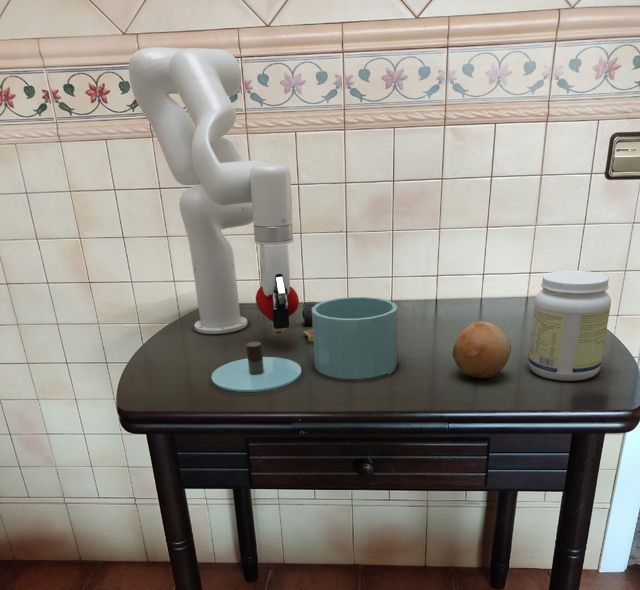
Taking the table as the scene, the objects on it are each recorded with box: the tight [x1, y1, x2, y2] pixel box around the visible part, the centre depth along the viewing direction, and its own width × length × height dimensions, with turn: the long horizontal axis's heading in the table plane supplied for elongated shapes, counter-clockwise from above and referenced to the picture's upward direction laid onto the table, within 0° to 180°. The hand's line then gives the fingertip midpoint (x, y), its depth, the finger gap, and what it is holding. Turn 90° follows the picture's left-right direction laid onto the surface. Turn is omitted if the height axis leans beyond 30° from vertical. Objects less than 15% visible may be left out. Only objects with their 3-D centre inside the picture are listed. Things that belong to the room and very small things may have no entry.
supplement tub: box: [527, 270, 612, 382], centre depth 104 cm, size 12×12×17 cm
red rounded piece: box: [255, 285, 300, 334], centre depth 122 cm, size 9×7×10 cm
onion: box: [452, 320, 512, 379], centre depth 105 cm, size 10×10×10 cm
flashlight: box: [301, 301, 319, 326], centre depth 140 cm, size 15×5×5 cm, turn 94°
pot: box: [312, 296, 398, 380], centre depth 112 cm, size 16×16×12 cm
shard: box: [303, 328, 314, 343], centre depth 128 cm, size 11×8×2 cm
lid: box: [211, 341, 303, 393], centre depth 110 cm, size 17×17×7 cm
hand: (278, 321), depth 123 cm, fingers closed on red rounded piece, 7 cm apart
